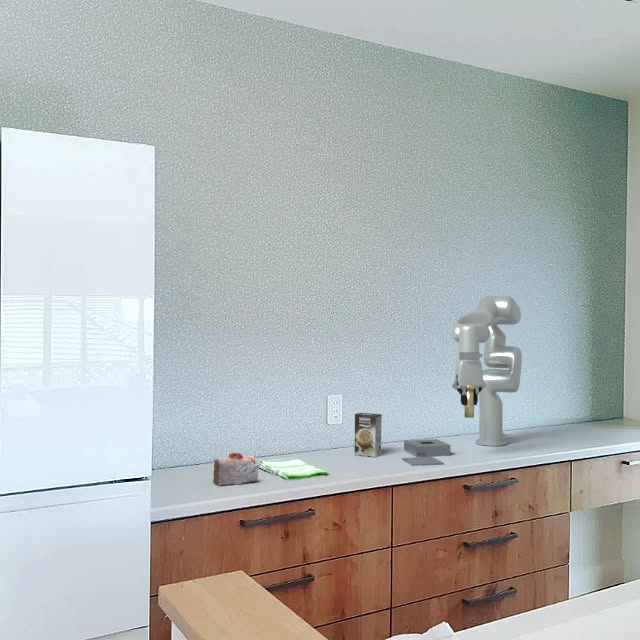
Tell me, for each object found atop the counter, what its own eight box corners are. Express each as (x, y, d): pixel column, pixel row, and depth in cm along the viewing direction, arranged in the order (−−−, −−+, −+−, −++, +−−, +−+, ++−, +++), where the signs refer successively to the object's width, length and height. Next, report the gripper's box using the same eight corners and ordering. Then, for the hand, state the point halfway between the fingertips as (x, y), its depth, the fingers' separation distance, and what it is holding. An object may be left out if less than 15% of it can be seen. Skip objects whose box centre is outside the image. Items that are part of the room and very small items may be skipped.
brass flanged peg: (472, 415, 275) (472, 383, 275) (478, 417, 270) (478, 384, 270) (460, 416, 274) (460, 383, 274) (465, 418, 269) (465, 385, 269)
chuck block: (436, 448, 290) (436, 439, 290) (450, 455, 276) (450, 445, 276) (404, 450, 287) (404, 440, 287) (416, 457, 273) (416, 446, 273)
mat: (431, 458, 271) (431, 456, 271) (443, 464, 260) (443, 462, 260) (401, 459, 269) (401, 458, 269) (412, 465, 257) (412, 464, 257)
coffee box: (353, 455, 276) (353, 414, 276) (360, 452, 282) (360, 412, 282) (375, 457, 272) (375, 415, 272) (382, 454, 278) (382, 413, 278)
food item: (251, 478, 238) (251, 448, 238) (259, 483, 230) (259, 453, 230) (211, 482, 232) (211, 452, 232) (219, 487, 224) (219, 456, 224)
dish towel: (299, 464, 262) (299, 455, 262) (331, 476, 242) (331, 466, 242) (256, 469, 253) (256, 459, 253) (286, 482, 233) (285, 472, 233)
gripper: (484, 356, 277) (484, 403, 277) (444, 356, 273) (445, 404, 274) (493, 357, 270) (493, 405, 270) (452, 358, 266) (452, 407, 266)
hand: (469, 404), depth 272 cm, fingers closed on brass flanged peg, 3 cm apart
